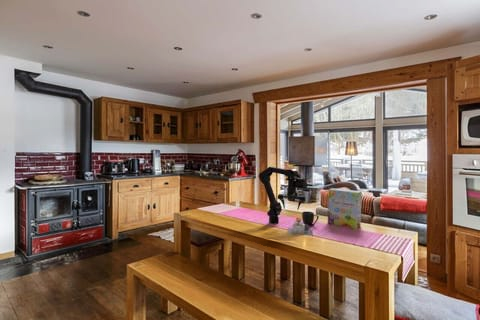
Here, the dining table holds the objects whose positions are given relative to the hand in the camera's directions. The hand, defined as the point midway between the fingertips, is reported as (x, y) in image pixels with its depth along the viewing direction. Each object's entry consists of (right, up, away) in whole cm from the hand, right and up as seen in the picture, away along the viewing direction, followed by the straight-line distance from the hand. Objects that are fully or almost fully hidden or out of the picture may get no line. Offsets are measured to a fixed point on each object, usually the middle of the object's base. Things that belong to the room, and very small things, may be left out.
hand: (291, 209), depth 186 cm
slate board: (+4, -13, -11) cm, 17 cm away
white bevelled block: (+4, -12, -11) cm, 17 cm away
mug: (+15, -13, +5) cm, 20 cm away
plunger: (+3, -12, -11) cm, 16 cm away
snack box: (+40, -13, +9) cm, 43 cm away
